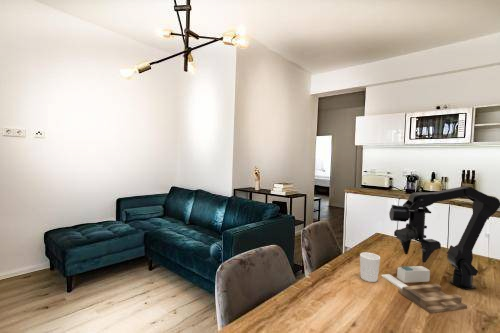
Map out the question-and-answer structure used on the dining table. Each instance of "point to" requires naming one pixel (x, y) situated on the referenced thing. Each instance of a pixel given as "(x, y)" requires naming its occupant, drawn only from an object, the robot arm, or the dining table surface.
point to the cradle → (432, 298)
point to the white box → (413, 274)
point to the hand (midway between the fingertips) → (414, 258)
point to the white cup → (369, 266)
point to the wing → (394, 281)
